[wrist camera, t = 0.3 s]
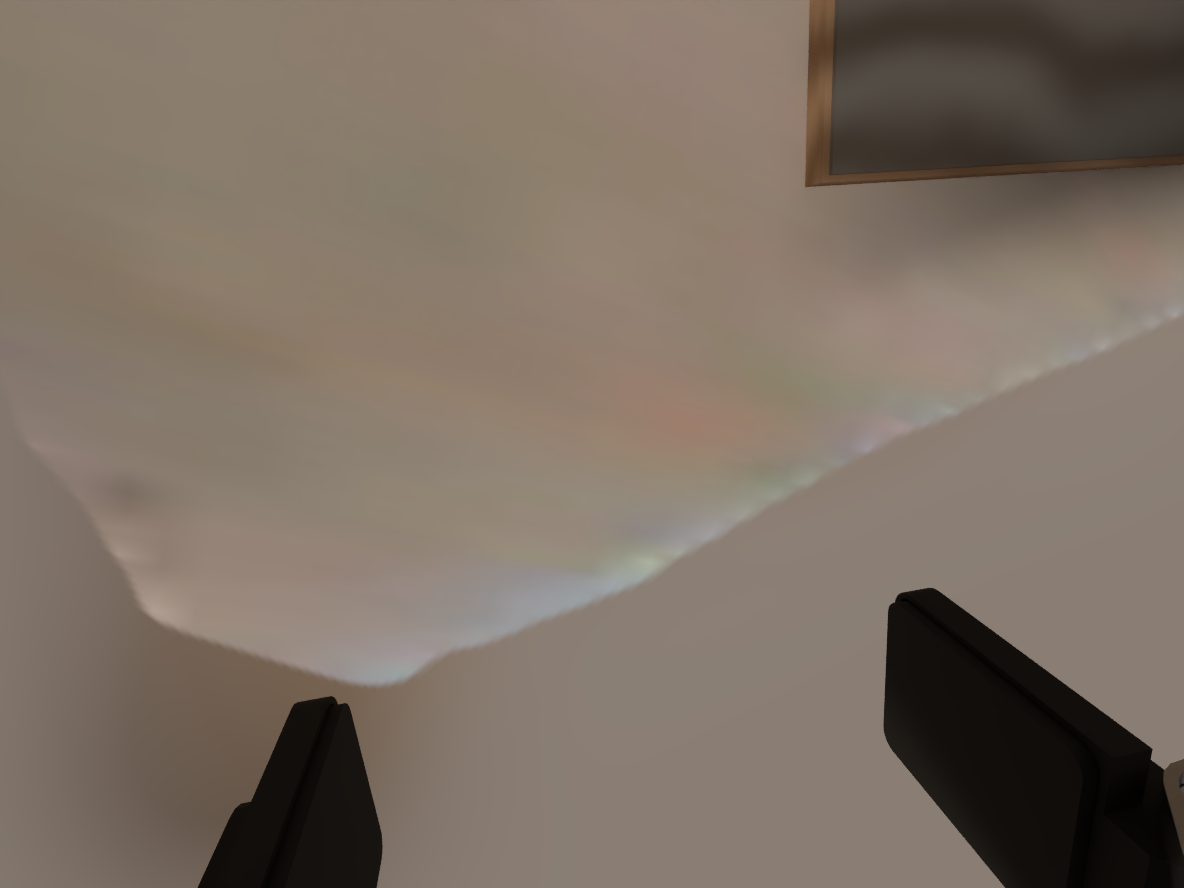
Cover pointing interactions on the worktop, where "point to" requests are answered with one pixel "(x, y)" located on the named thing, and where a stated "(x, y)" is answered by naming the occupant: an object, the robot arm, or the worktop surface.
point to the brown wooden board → (991, 88)
